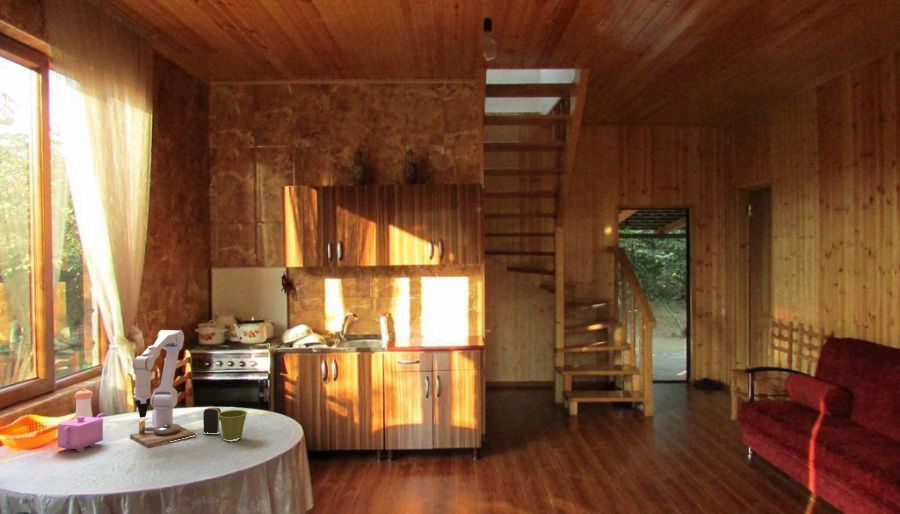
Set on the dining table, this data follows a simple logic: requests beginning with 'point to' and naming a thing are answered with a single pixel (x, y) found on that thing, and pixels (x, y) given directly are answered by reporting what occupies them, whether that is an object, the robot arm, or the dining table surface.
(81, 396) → the pepper shaker
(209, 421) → the battery charger
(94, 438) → the teapot
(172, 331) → the robot arm
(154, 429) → the crank handle wheel
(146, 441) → the cutting board
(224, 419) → the plant pot
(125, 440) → the dining table surface
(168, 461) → the dining table surface
